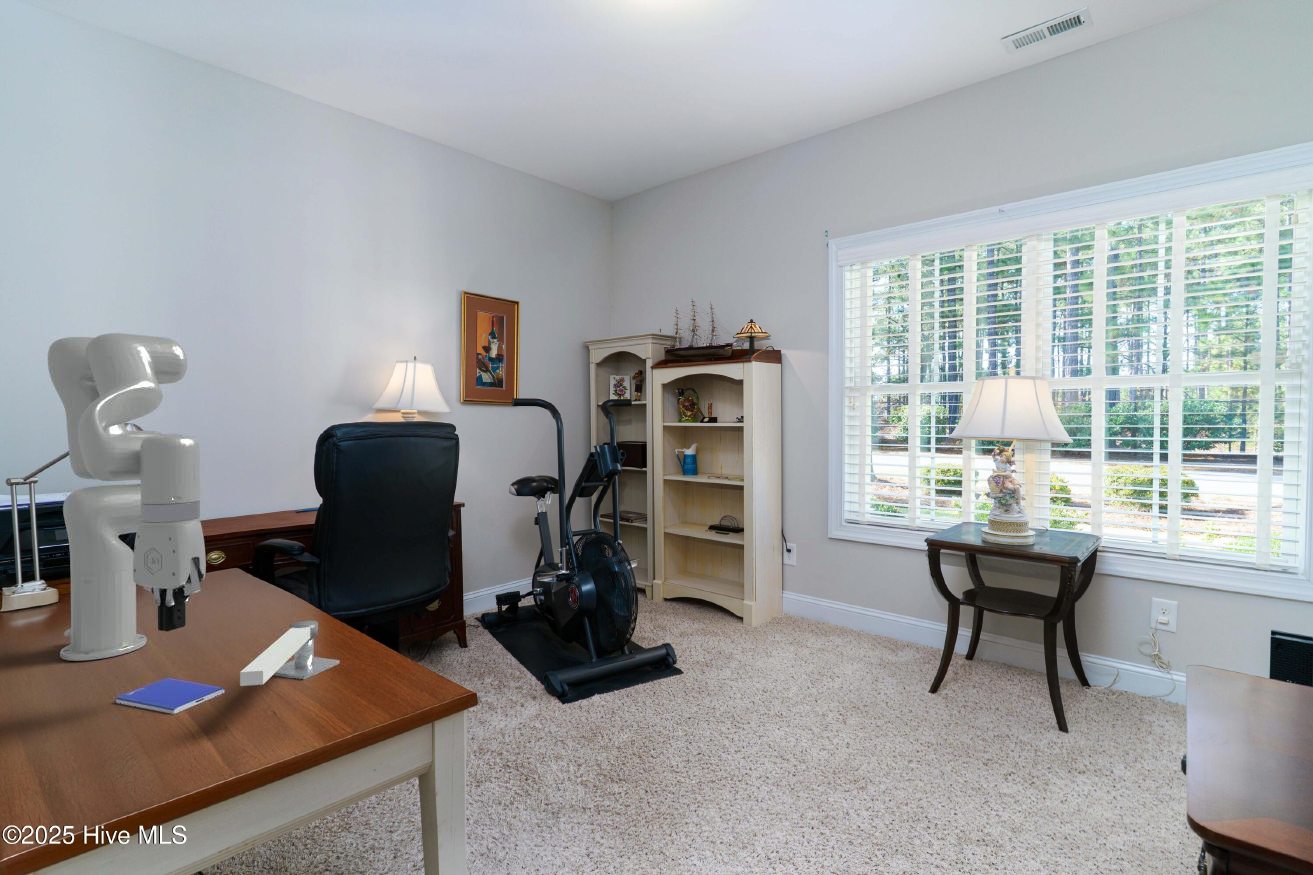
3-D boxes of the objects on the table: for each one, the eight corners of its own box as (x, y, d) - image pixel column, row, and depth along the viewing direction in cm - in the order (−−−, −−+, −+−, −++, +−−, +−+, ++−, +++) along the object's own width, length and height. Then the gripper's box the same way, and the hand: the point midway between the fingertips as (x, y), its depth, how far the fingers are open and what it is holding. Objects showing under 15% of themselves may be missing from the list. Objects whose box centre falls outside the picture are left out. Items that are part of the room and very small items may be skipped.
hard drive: (116, 696, 101) (173, 707, 97) (169, 676, 109) (224, 686, 105) (116, 706, 101) (173, 717, 97) (169, 685, 109) (224, 696, 105)
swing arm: (294, 632, 117) (294, 621, 117) (321, 630, 118) (321, 619, 118) (234, 686, 93) (234, 672, 93) (268, 683, 93) (268, 670, 93)
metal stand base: (267, 674, 112) (267, 641, 112) (304, 658, 120) (304, 628, 120) (303, 679, 110) (303, 646, 110) (339, 663, 118) (339, 632, 118)
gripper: (111, 514, 101) (112, 631, 101) (182, 518, 96) (183, 640, 97) (160, 508, 108) (161, 617, 108) (229, 512, 104) (229, 626, 104)
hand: (171, 628), depth 103 cm, fingers closed
